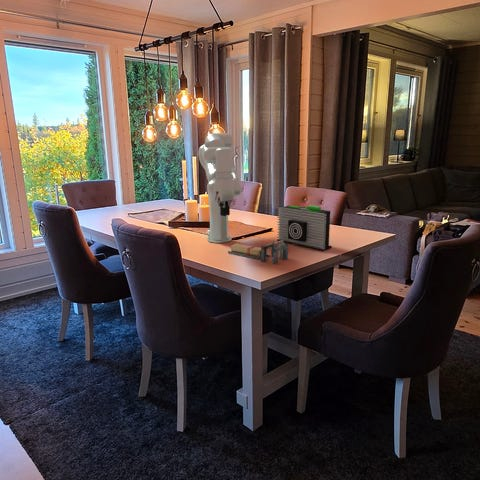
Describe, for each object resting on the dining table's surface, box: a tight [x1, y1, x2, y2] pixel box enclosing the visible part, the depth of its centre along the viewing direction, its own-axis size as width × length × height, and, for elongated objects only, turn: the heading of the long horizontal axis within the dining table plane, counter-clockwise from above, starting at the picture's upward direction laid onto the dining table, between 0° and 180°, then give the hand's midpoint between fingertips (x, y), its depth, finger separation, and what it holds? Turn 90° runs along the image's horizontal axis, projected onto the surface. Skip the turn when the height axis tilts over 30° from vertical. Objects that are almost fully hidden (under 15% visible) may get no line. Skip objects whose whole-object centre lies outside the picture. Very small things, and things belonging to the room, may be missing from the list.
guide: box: [227, 250, 271, 261], centre depth 185 cm, size 19×7×1 cm, turn 53°
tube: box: [230, 243, 261, 257], centre depth 185 cm, size 16×4×4 cm, turn 53°
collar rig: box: [260, 240, 289, 265], centre depth 176 cm, size 8×11×8 cm
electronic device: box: [276, 205, 333, 252], centre depth 199 cm, size 28×11×20 cm, turn 45°
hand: (225, 215), depth 189 cm, fingers closed
